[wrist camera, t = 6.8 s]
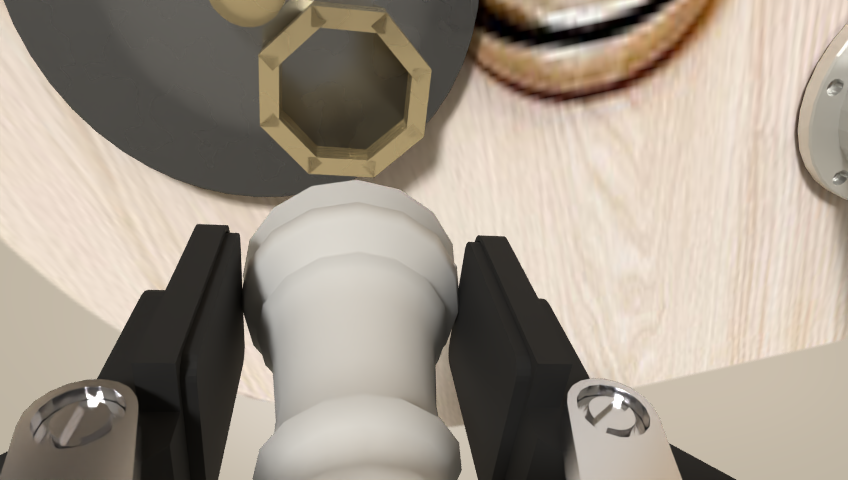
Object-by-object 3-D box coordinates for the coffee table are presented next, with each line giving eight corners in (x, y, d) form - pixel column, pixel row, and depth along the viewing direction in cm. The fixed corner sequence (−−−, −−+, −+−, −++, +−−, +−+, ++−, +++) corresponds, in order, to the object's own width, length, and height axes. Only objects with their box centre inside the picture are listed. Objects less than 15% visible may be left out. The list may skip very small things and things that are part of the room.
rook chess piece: (396, 368, 14) (452, 792, 7) (216, 310, 13) (72, 771, 6) (489, 219, 13) (674, 585, 6) (294, 134, 11) (221, 485, 4)
